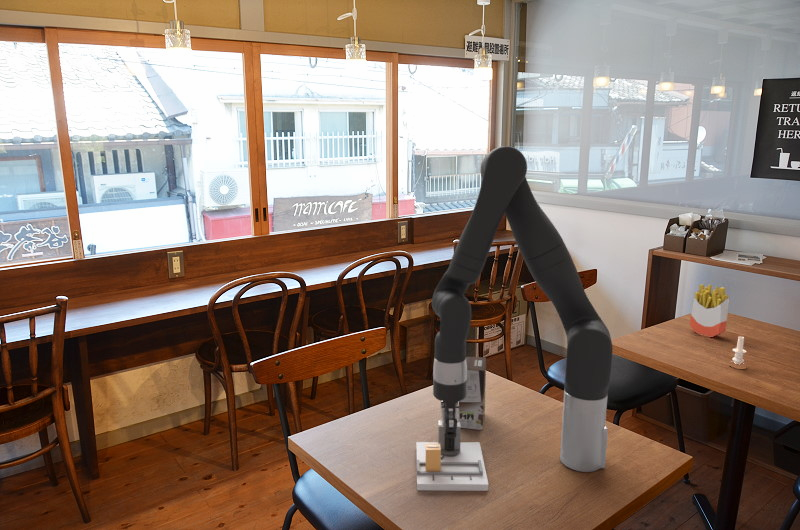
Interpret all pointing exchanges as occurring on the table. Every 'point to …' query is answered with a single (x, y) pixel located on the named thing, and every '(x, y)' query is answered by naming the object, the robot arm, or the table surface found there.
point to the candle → (739, 351)
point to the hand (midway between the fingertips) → (449, 445)
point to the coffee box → (474, 395)
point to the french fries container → (709, 311)
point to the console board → (453, 470)
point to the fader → (433, 457)
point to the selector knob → (442, 440)
